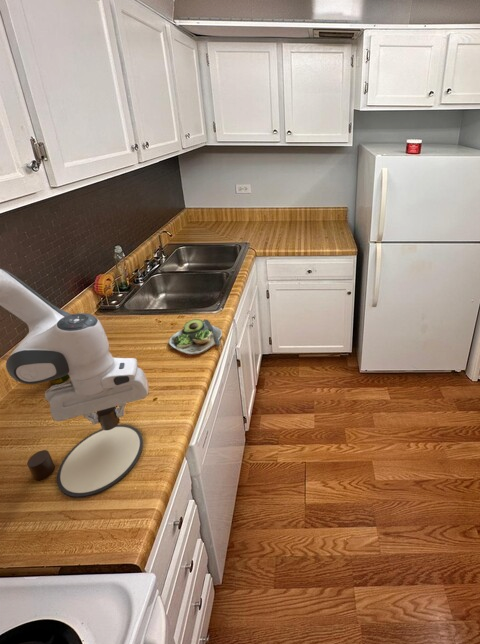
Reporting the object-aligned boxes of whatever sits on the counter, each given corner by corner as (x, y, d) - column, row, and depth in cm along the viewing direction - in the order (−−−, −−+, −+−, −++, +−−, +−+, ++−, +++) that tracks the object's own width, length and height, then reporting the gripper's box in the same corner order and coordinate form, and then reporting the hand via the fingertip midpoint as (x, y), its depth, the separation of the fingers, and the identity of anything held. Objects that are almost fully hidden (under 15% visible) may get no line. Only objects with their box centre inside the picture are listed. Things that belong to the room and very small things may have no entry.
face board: (45, 511, 70) (44, 509, 70) (69, 439, 86) (68, 437, 86) (139, 479, 76) (139, 477, 76) (145, 417, 92) (145, 415, 92)
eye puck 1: (31, 484, 76) (23, 469, 74) (37, 467, 79) (30, 453, 77) (52, 477, 77) (45, 462, 75) (57, 461, 80) (51, 447, 78)
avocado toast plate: (236, 336, 125) (235, 326, 123) (199, 364, 111) (197, 353, 109) (201, 320, 135) (200, 311, 133) (162, 345, 120) (160, 334, 119)
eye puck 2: (100, 432, 82) (95, 418, 80) (103, 419, 85) (98, 405, 83) (118, 427, 83) (113, 412, 81) (120, 414, 87) (116, 400, 85)
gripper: (37, 399, 72) (56, 443, 77) (140, 373, 79) (152, 415, 84) (46, 379, 78) (64, 421, 83) (143, 356, 84) (153, 397, 90)
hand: (109, 418), depth 84 cm, fingers closed on eye puck 2, 4 cm apart
